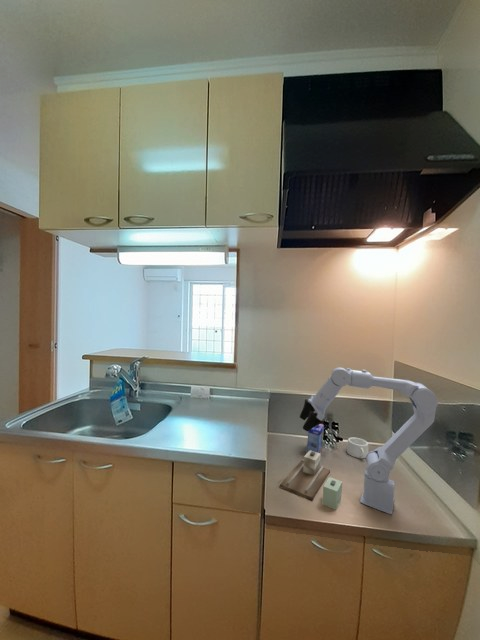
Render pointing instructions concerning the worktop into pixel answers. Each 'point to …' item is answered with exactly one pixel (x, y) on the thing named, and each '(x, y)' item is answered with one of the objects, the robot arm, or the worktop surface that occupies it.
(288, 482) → the rail board
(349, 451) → the mug
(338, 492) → the module
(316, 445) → the ink cartridge box
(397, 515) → the worktop surface
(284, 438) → the worktop surface
